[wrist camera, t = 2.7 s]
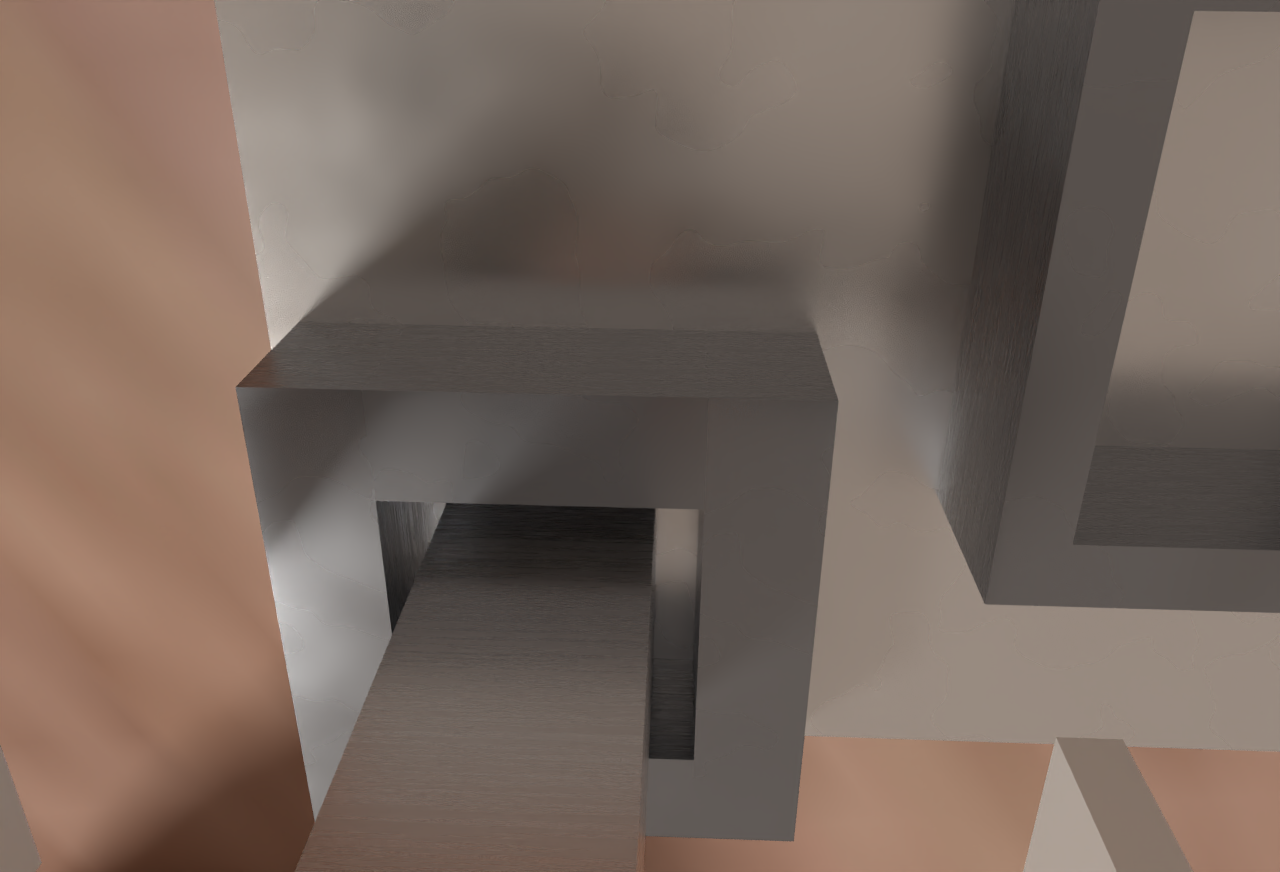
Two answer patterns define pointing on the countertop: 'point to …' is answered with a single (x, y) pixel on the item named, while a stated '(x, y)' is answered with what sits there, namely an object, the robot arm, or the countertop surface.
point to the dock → (792, 242)
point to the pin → (507, 703)
